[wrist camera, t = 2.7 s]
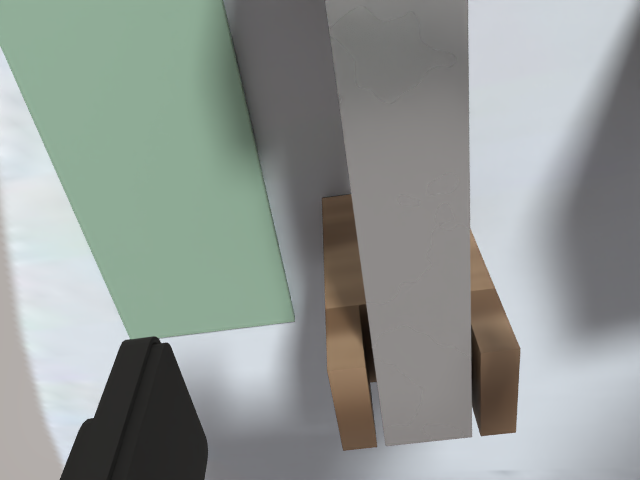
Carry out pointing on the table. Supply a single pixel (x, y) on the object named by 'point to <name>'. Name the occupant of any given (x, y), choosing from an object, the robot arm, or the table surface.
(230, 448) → the table surface
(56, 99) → the mat
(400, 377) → the rail
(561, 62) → the table surface
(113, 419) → the robot arm
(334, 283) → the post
